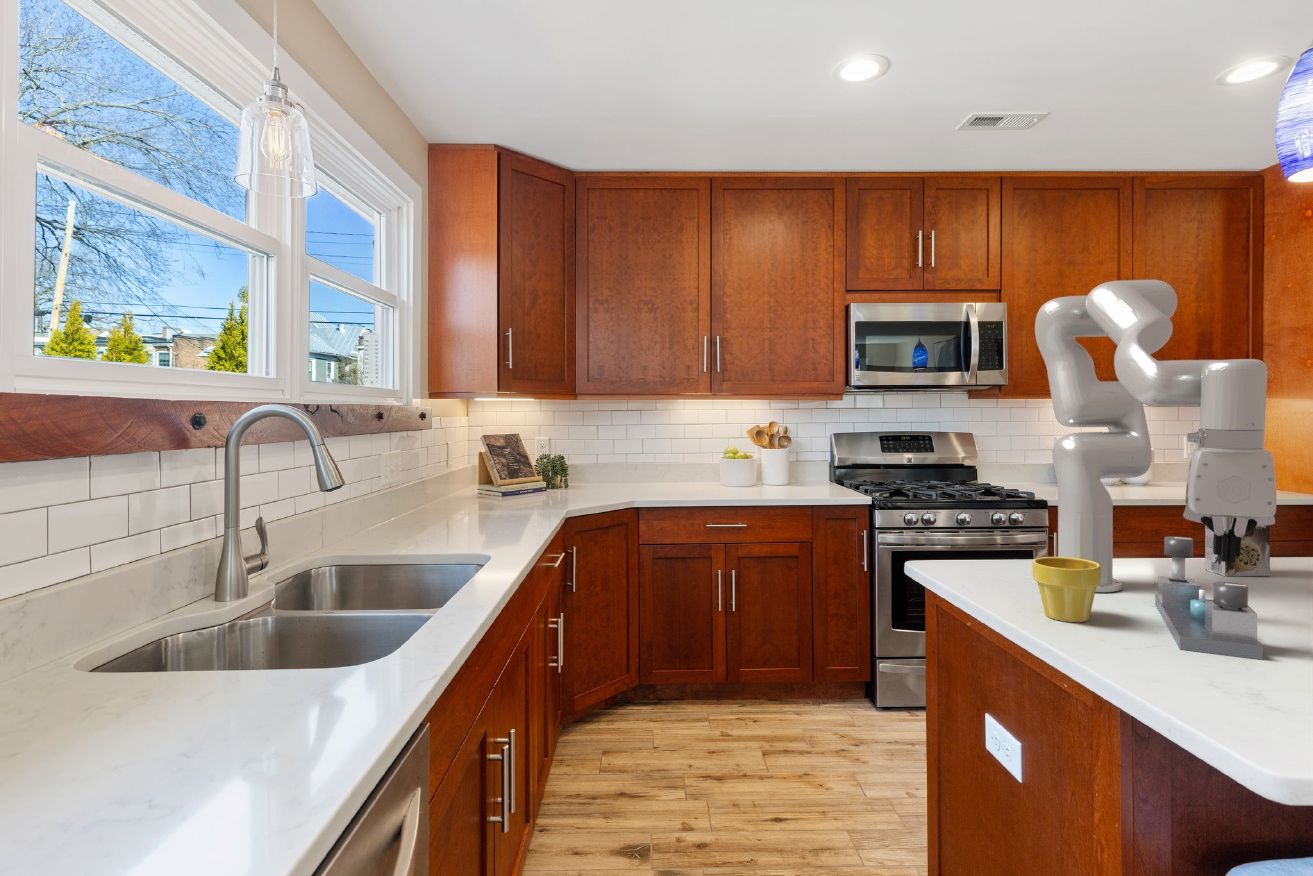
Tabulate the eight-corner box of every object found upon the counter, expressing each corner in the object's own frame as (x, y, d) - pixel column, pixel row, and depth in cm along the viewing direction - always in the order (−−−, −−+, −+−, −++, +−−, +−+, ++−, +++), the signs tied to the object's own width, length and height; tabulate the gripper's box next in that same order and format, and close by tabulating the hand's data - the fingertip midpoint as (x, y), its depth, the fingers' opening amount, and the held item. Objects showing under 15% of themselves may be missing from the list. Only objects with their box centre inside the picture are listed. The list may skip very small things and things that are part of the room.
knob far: (1166, 579, 118) (1166, 538, 117) (1162, 574, 121) (1162, 535, 121) (1195, 581, 116) (1195, 540, 115) (1190, 576, 119) (1190, 536, 119)
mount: (1179, 649, 102) (1180, 610, 102) (1155, 605, 124) (1155, 573, 124) (1262, 659, 97) (1262, 618, 97) (1221, 611, 120) (1221, 578, 119)
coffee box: (1247, 569, 149) (1248, 497, 148) (1271, 576, 143) (1272, 501, 142) (1203, 569, 150) (1203, 497, 149) (1224, 576, 144) (1225, 501, 143)
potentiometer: (1192, 618, 110) (1192, 591, 110) (1188, 613, 113) (1188, 586, 113) (1215, 620, 109) (1215, 593, 108) (1211, 615, 111) (1211, 588, 111)
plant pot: (1019, 613, 121) (1018, 559, 121) (1058, 605, 125) (1058, 553, 125) (1074, 629, 112) (1074, 571, 111) (1114, 621, 116) (1115, 564, 116)
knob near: (1216, 632, 102) (1216, 585, 102) (1210, 625, 105) (1210, 580, 105) (1250, 636, 100) (1251, 588, 100) (1243, 628, 103) (1244, 582, 103)
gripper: (1173, 442, 102) (1169, 560, 104) (1305, 444, 95) (1299, 572, 96) (1165, 438, 109) (1162, 550, 110) (1288, 440, 101) (1283, 559, 103)
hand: (1226, 560), depth 103 cm, fingers closed
